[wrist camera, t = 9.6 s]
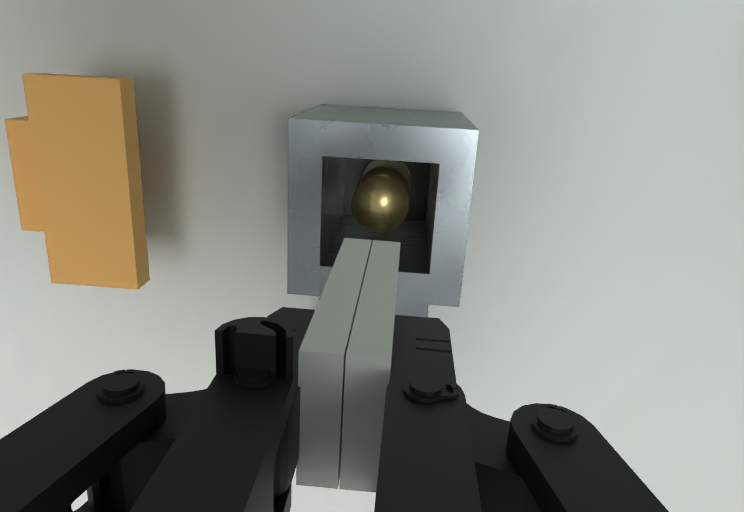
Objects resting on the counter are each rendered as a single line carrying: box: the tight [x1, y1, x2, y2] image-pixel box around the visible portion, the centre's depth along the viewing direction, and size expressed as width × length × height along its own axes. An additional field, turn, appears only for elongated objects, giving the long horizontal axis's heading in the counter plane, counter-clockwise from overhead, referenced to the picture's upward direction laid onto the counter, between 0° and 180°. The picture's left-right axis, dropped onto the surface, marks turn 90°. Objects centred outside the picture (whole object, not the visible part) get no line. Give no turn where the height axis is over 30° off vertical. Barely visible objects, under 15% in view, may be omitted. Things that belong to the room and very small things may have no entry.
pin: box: [352, 159, 410, 233], centre depth 27 cm, size 2×2×6 cm
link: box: [287, 104, 479, 317], centre depth 27 cm, size 16×7×8 cm, turn 177°
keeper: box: [5, 73, 150, 289], centre depth 27 cm, size 9×6×6 cm, turn 177°
